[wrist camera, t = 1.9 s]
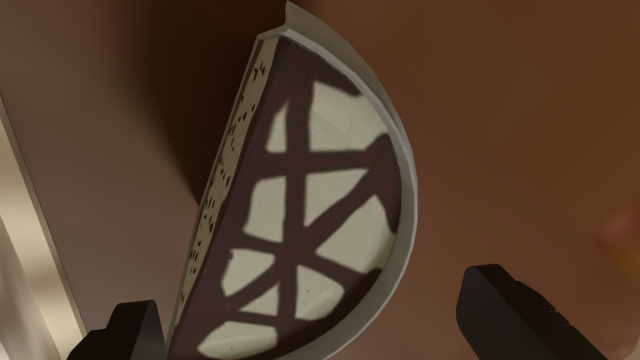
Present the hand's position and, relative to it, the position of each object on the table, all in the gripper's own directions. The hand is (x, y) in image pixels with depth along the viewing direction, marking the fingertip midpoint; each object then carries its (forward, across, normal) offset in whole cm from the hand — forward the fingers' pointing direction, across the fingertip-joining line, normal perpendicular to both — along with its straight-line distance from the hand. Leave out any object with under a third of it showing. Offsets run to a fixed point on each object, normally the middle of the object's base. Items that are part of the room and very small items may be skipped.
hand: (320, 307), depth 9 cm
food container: (+11, 0, 0) cm, 11 cm away
